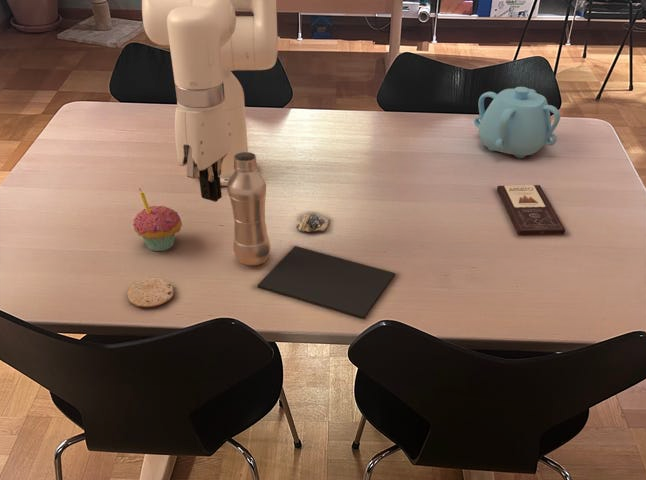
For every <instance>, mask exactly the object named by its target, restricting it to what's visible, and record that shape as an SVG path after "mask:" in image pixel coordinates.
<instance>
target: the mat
mask: <svg viewBox="0 0 646 480" xmlns="http://www.w3.org/2000/svg"><path fill="white" fill-rule="evenodd" d="M395 276H396V273H395V272H392V271H389V270H385V269H382V268H379V267H374V266H371V265H367V264H363V263H359V262H356V261H352V260H348V259H345V258H342V257H338V256H334V255H331V254H327V253H323V252H321V251H320V252H319V251H316V250H312V249H308V248H305V247H300V246H298V245H294V246H293V247H292V248H291V250H290V251H288V252H287V253H286V255H285V256H284V257H283V258H282V259H280V260H279V262H278V263H277V264H276V265H275V266H274V267H273V268H272V269H271V270H270V271H269V273H267V274H266V276H264V278H263V279H261V280H260V281H259V283H258V284H257V288H258V289H262V290H265V291H268V292H271V293H276V294H278V295H282V296H286V297H288V298H292V299H296V300H299V301H302V302H306V303H309V304H312V305H316V306H319V307H322V308H325V309H329V310H333V311H336V312H339V313H342V314H346V315H349V316H352V317H355V318H359V319H362V320H364V319H365V318H366V316H367V315H368V314H369V312H370V311H371V309H372V308H373V306H374V305H375V304H376V302H377V301H378V300H379V298H380V297H381V296H382V294H383V293H384V291H385V290H386V288H387V287H388V286H389V284H390V283H391V281H392V280H393V279H394V277H395Z"/></svg>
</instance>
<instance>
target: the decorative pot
mask: <svg viewBox="0 0 646 480" xmlns="http://www.w3.org/2000/svg"><path fill="white" fill-rule="evenodd" d="M486 98H492V101H491V102H490V104H489V105H488V107H487V108H486V110H485V99H486ZM548 103H549V102H548V100H547V98H546V96H544V95H542V94H540V93H537V91H536V90H535V89H534V88H528V87H526V86H516V87H514V88H506V89H503V90H501V91H500V92H499V93H496V92H494V91H487V92H484V93H482V94H481V95H480V96H479V99H478V103H477V104H478V113H479V115H476V116H475V118H474V119H473V124H474V125H475V127H476V128H478V137H479V139H480V141H481V143H482V144H483V145H484V146H485V147H487V150H489V151H492V152H500V153H504V154H507V155H513V156H514V157H515V158H517V159H518V158H519V159H522V158H525V157H526V156H531V155H534V154H536V153H537V152H538V151H539V150H540V149H542V147H544V145H546V146H549V147H550V146H554V145H555V144H556V143H557V142H558V137H557V135H556V134H554V133H553V132H554V131H555V130H556V128H557V126H558V125H559V123H560V120H561V113H560V111H559V109H558V108H557V107H556V106H554V105H551V104H548ZM551 113H552V114H553V116H554V120H553V123H552V117H551ZM550 138H551V139H552V140H551V139H550Z"/></svg>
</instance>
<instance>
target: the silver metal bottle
mask: <svg viewBox="0 0 646 480" xmlns="http://www.w3.org/2000/svg"><path fill="white" fill-rule="evenodd" d="M233 165H234V169H235V171H234V172H233V174H232V175H231V177H230V179H229V180H228V185H227V186H226V189H227V193H228V196H229V201H230V205H231V210H232V215H233V222H234V223H233V228H234V229H233V230H234V235H233V245H232V246H233V247H232V249H233V253H234V256H235V258H236V260H238V261H239V262H240V263H241V264H243V265H245V266H259V265H262V264H264V263H265V262H267V261H268V259H269V258H270V256H271V249H272V247H271V241H270V238H269V236H268V228H267V222H266V198H267V183H266V181H265V179H264V177H263V176H262V174H261V173H260V172H259V171H258V170H257V169H258V162H257V155H256V154H255V153H253V152H249V151H248V152H240V153H237V154H235V155H234V164H233Z"/></svg>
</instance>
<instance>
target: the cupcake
mask: <svg viewBox="0 0 646 480" xmlns="http://www.w3.org/2000/svg"><path fill="white" fill-rule="evenodd" d="M138 190H139V195H140V197H141V200H142V202H143V203H142V204H143V205H144V209H141V211H140V212H139V211H138V212H137V214H136V216H135V217H134V219H133V224H132V225H133V230H134V232H135V233H136V234H137V236H139V237H142V239H143V241H144V242H145V245H146V246H147V247H148V249H149V250H151V251H155V252H164V251H167V250H169V249H171V248H172V247H173V246H174V243H175V237H176V234H177V233H179V232H180V231H181V228H182V226H183V223H182V219H181V217H180V215H179V213H178V211H175V210H174V209H172V208H171V206H169V207H167V206H165V205H152V206H149V202H148V200H147V198H146V195H145V192H144V190H142V189H141V188H140V187H138Z"/></svg>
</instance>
